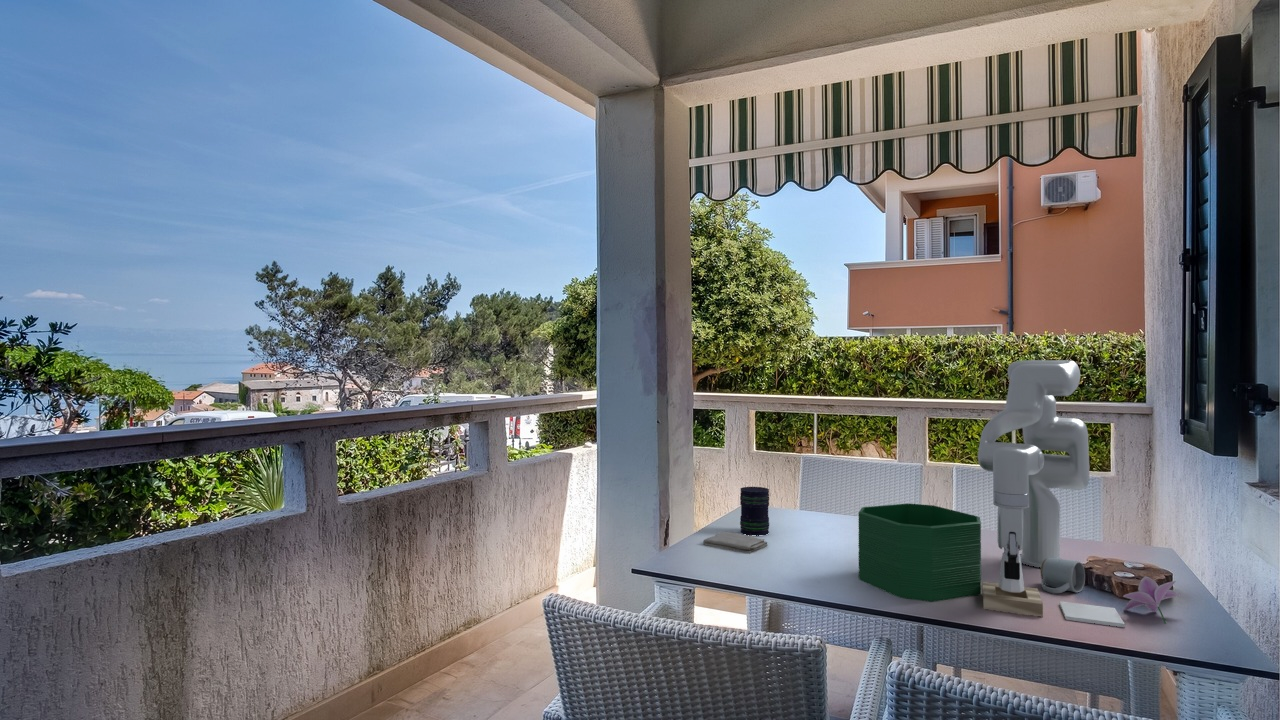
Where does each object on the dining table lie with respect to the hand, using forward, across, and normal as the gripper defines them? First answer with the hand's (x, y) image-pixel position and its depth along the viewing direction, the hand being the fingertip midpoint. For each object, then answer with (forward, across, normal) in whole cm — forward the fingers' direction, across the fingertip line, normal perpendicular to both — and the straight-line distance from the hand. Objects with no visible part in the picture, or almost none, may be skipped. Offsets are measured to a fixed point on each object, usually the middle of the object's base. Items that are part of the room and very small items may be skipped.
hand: (1011, 575), depth 165 cm
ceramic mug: (+8, -18, +12) cm, 23 cm away
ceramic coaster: (+7, +1, +16) cm, 17 cm away
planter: (+7, -8, -21) cm, 24 cm away
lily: (+7, -5, +28) cm, 30 cm away
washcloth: (+8, -24, -76) cm, 80 cm away
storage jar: (+8, -43, -75) cm, 87 cm away
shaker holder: (+7, +1, 0) cm, 7 cm away
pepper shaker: (+3, 0, 0) cm, 3 cm away
